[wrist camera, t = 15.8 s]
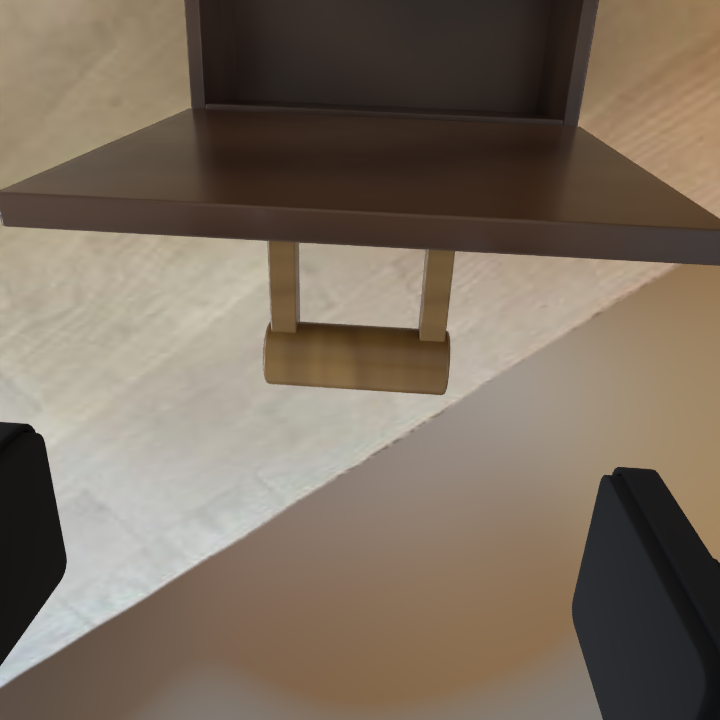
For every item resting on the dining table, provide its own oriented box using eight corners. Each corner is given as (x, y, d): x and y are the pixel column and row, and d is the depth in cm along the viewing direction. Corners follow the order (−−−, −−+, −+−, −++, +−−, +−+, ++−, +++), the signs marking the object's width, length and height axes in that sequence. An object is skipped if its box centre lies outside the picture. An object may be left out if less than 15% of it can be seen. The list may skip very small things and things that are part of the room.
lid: (-8, 192, 14) (45, 404, 17) (742, 231, 13) (668, 446, 16) (187, 108, 26) (199, 238, 29) (580, 126, 25) (555, 257, 28)
